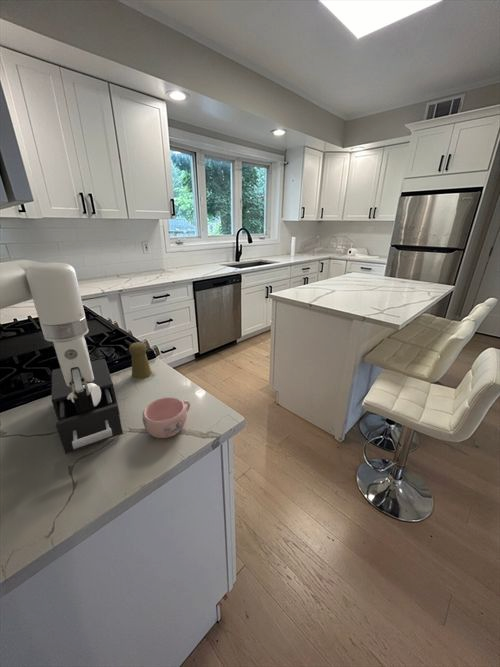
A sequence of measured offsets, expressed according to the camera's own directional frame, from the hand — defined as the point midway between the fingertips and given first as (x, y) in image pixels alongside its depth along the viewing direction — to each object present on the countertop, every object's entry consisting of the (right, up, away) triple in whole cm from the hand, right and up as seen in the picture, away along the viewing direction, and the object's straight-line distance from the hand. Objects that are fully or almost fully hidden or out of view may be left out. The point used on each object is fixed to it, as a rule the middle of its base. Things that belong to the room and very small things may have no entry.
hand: (84, 402), depth 62 cm
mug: (+17, -8, +6) cm, 20 cm away
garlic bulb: (0, -1, +1) cm, 1 cm away
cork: (+2, +2, +29) cm, 29 cm away
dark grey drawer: (0, -8, +3) cm, 8 cm away
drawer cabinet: (-6, -5, +13) cm, 15 cm away
